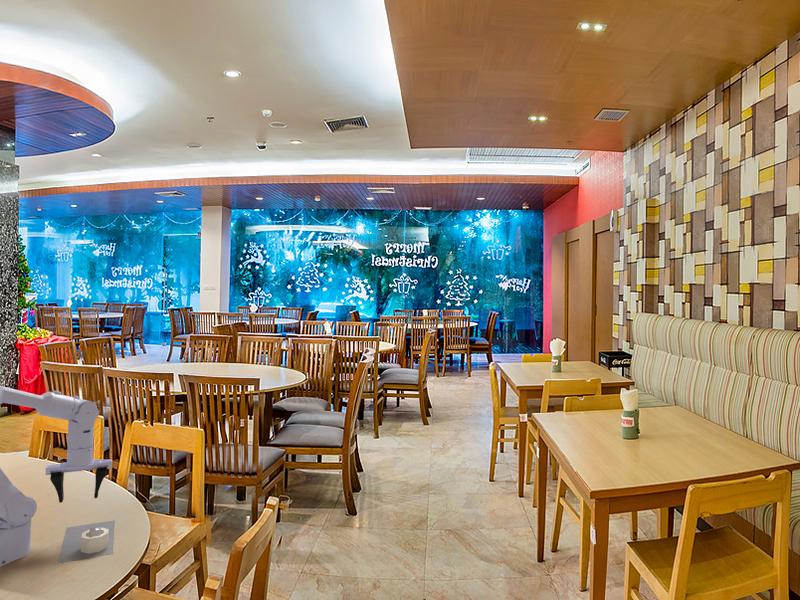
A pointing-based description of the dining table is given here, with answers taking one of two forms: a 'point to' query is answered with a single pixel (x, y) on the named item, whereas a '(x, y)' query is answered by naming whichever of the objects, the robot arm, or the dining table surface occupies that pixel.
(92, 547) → the cream ring
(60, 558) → the gray board
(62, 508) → the dining table surface
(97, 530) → the steel post
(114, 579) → the dining table surface
